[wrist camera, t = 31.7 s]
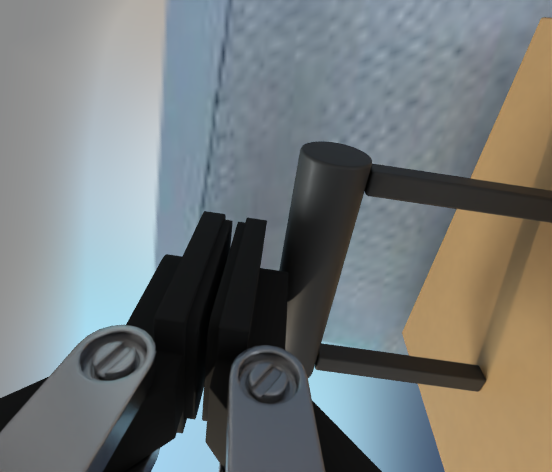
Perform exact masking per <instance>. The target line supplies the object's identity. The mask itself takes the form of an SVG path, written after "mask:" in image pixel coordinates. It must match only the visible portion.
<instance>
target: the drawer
mask: <svg viewBox="0 0 552 472" xmlns="http://www.w3.org/2000/svg"><path fill="white" fill-rule="evenodd" d="M364 191H365V193H366V195H368V196H373V197H380V198H386V199H393V200H400V201H407V202H413V203H420V204H427V205H434V206H440V207H447V208H454V209H457V210H456V212H455V214H454V217H453V219H452V221H451V223H450V226H449V228H448V230H447V232H446V235H445V237H444V239H443V241H442V244H441V246H440V248H439V251H438V253H437V255H436V257H435V260H434V262H433V264H432V266H431V269H430V271H429V273H428V275H427V278H426V280H425V282H424V284H423V287H422V289H421V291H420V294H419V296H418V298H417V300H416V303H415V305H414V307H413V309H412V312H411V314H410V316H409V318H408V321H407V323H406V325H405V327H404V330H403V332H402V334H403V337H404V341H405V344H406V347H407V350H408V354H409V356H408V355H401V354H394V353H387V352H379V351H372V350H365V349H358V348H351V347H343V346H336V345H329V344H322V343H321V341H322V338H323V334H324V331H325V327H326V324H327V320H328V317H329V313H330V310H331V306H332V303H333V299H334V296H335V292H336V289H337V285H338V282H339V278H340V275H341V271H342V268H343V264H344V261H345V257H346V254H347V250H348V247H349V243H350V240H351V236H352V233H353V229H354V226H355V222H356V219H357V215H358V212H359V208H360V205H361V201H362V198H363V194H364ZM279 271H283V272H288V273H289V280H288V302H287V324H286V346H285V350H287V351H289V352H290V353H291V354H293V355H294V356H295V357H297V358H298V360H299V361H300V362H301V364H302V365H303V366H304V369H305V371H306V374H307V378H309V377H310V376H311V374H312V372H313V369H314V366H315V368H316V370H322V371H329V372H337V373H344V374H351V375H359V376H366V377H373V378H381V379H388V380H395V381H402V382H410V383H417V384H418V385H419V389H420V392H421V395H422V399H423V402H424V405H425V408H426V412H427V415H428V418H429V421H430V425H431V428H432V431H433V434H434V437H435V441H436V444H437V447H438V450H439V454H440V456H441V460H442V463H443V466H444V470H445V472H552V18H546V17H543V18H541V20H540V22H539V24H538V27H537V29H536V31H535V33H534V36H533V38H532V40H531V42H530V45H529V47H528V49H527V51H526V54H525V56H524V58H523V60H522V63H521V65H520V67H519V70H518V72H517V74H516V76H515V79H514V81H513V83H512V85H511V88H510V90H509V92H508V94H507V97H506V99H505V101H504V103H503V106H502V108H501V110H500V113H499V115H498V117H497V119H496V122H495V124H494V126H493V128H492V131H491V133H490V135H489V137H488V140H487V142H486V144H485V146H484V149H483V151H482V153H481V156H480V158H479V160H478V162H477V165H476V167H475V169H474V171H473V174H472V176H471V178H464V177H457V176H451V175H444V174H437V173H431V172H424V171H417V170H411V169H404V168H397V167H391V166H384V165H377V164H372V160H371V158H370V157H369V156H368V155H367V154H366V153H364V152H362V151H360V150H358V149H356V148H354V147H351V146H347V145H344V144H339V143H333V142H311V143H307V144H305V145H303V146H302V148H301V149H300V155H299V161H298V166H297V172H296V178H295V184H294V189H293V195H292V201H291V207H290V212H289V218H288V224H287V229H286V235H285V241H284V247H283V252H282V258H281V264H280V270H279Z"/></svg>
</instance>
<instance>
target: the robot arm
mask: <svg viewBox="0 0 552 472" xmlns="http://www.w3.org/2000/svg"><path fill="white" fill-rule="evenodd" d="M266 224H267V221H266V220H260V219H253V218H247V219H246V223H244V222H238V224H237V227H236V231H235V234H234V238H233V241H232V244H231V233H232V221H230V220H225V214H220V213H213V212H206V211H204V213H203V215H202V217H201V219H200V221H199V223H198V225H197V227H196V229H195V231H194V234H193V236H192V238H191V240H190V242H189V244H188V246H187V248H186V250H185V253H184V255H183V257H181V256H175V255H168V254H167V255H165V256H164V257H163V259H162V260H161V262H160V264H159V266H158V268H157V270H156V271H155V273H154V275H153V277H152V279H151V280H150V282H149V284H148V286H147V288H146V290H145V291H144V293H143V295H142V297H141V299H140V300H139V302H138V304H137V306H136V308H135V310H134V311H133V313H132V315H131V317H130V319H129V321H128V322H127V324H126V325H116V326H110V327H106V328H103V329H99V330H97V331H95V332H94V333H92V334H90V335H88V336H87V337H86V338H85V339H83V340H82V341H81V342H80V343H79V344H78V345H77V346H76V347H75V348H74V349H73V350H72V351H71V353H70V354H69V355H68V356H67V357H66V358H65V359H64V361H63V362H62V363H61V364H60V365H59V366H58V368H56V370H55V371H54V372H53V373H52V374H51V375H50V376H49V377H47V378H45V379H43V380H40V381H38V382H36V383H34V384H31V385H29V386H27V387H25V388H22V389H21V390H18V391H16V392H13V393H11V394H9V395H7V396H5V397H2V398H0V472H151V470H152V468H153V466H154V464H155V462H156V460H157V457H158V454H159V450H160V447H162V446H163V445H165V444H166V443H168V442H170V441H171V440H172V439H174V438H175V436H176V433H183V430H184V427H185V423H186V420H187V418H190V419H195V418H196V415H197V412H198V408H199V404H200V400H201V396H202V392H203V388H204V398H203V415H202V420H203V421H207V429H206V443H207V445H208V446H209V448H210V449H211V451H212V452H213V454H214V455H215V456H216V458H217V459H218V461H219V462H220V463H219V472H382V471H381V470H380V469H379V468H378V467H377V466H376V465H375V464H374V463H373V462H372V461H371V460H370V459H369V458H368V457H367V456H366V455H365V454H364V453H363V452H362V451H361V450H360V449H359V448H358V447H357V446H356V445H355V444H354V443H353V442H352V441H351V440H350V439H349V438H348V437H347V436H346V435H345V434H344V433H343V432H342V430H340V428H339V427H338V426H337V425H336V424H335V423H334V422H333V421H332V420H331V419H330V418H329V417H328V416H327V415H326V414H325V413H324V412H323V411H322V410H321V409H320V408H319V407H318V406H317V405H316V404H315V403H314V402H313V401H312V399H311V393H310V388H309V383H308V378H307V374H306V371H305V369H304V366H303V365H302V364H301V362H300V361H299V360H298V358H297V357H295V356H294V355H293V354H291V353H290V352H289V351H287V350H285V346H286V324H287V302H288V280H289V273H288V272H283V271H276V270H270V269H263V268H260V265H261V258H262V251H263V244H264V238H265V231H266ZM230 244H231V248H230Z"/></svg>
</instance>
